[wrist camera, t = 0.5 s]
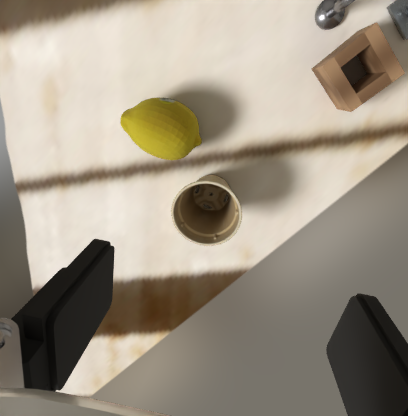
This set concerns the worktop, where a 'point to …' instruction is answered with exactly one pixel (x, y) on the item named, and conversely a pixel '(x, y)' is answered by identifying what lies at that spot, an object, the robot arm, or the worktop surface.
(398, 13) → the peg stand
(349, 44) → the open wooden box
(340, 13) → the buzz wire
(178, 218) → the flower pot
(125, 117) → the lemon
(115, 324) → the worktop surface
